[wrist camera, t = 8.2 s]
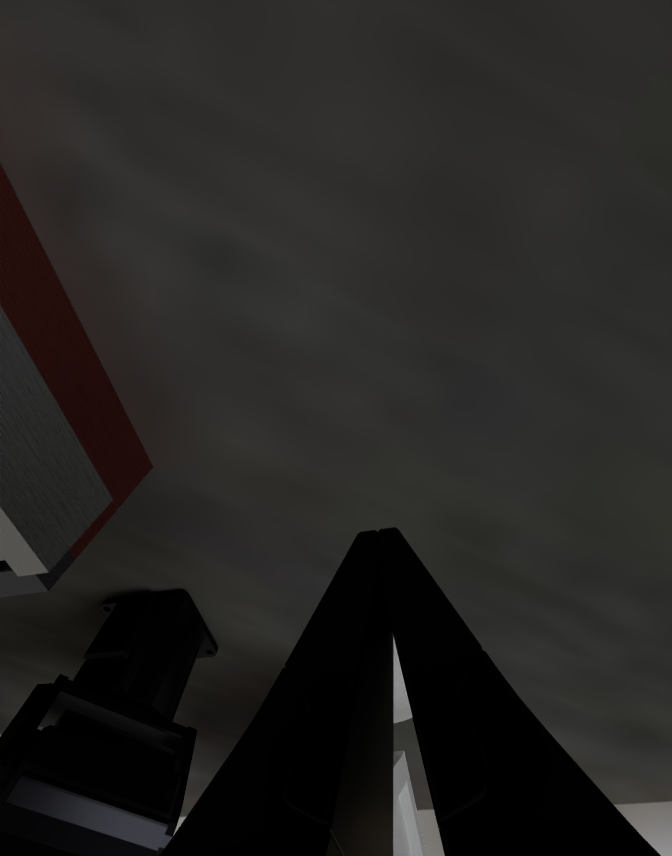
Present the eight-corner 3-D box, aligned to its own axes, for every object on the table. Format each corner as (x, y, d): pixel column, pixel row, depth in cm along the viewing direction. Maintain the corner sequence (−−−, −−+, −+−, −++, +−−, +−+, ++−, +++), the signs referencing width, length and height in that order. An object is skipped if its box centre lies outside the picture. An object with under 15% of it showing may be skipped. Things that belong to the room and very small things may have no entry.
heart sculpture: (426, 726, 33) (489, 1192, 17) (367, 732, 34) (376, 1181, 18) (382, 599, 27) (419, 1165, 11) (311, 611, 28) (246, 1149, 12)
